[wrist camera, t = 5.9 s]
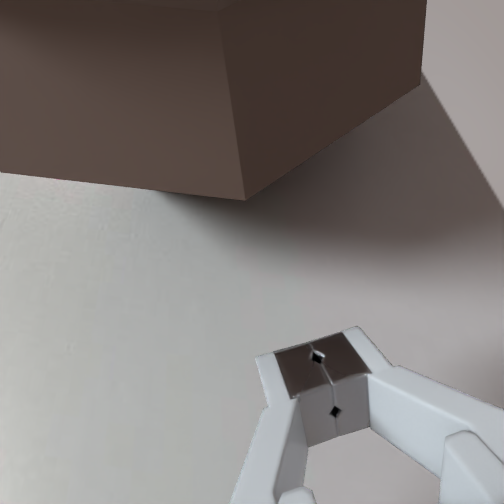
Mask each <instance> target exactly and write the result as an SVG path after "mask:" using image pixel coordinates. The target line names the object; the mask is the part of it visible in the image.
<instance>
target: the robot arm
mask: <svg viewBox="0 0 504 504" xmlns="http://www.w3.org/2000/svg"><path fill="white" fill-rule="evenodd" d="M256 363H257V367H258V371H259V374H260V378H261V382H262V386H263V390H264V394H265V397H266V401H267V405H268V407H266V408H263V411H262V414H261V417H260V420H259V422H258V425H257V428H256V431H255V434H254V436H253V439H252V442H251V445H250V448H249V450H248V453H247V456H246V459H245V462H244V464H243V467H242V470H241V473H240V476H239V478H238V481H237V484H236V487H235V489H234V492H233V495H232V498H231V501H230V503H229V504H317V503H316V500H315V498H314V495H313V492H312V490H310V489H308V488H306V487H304V486H303V483H304V476H305V469H306V462H307V456H308V447H311V446H314V445H317V444H319V443H322V442H325V441H327V440H330V439H333V438H335V437H338V436H341V435H345V434H348V433H351V432H355V431H358V430H361V429H365V428H368V427H371V429H372V430H373V431H375V432H376V433H377V434H379V435H380V436H382V437H383V438H384V439H386V440H387V441H388V442H390V443H391V444H393V445H394V446H395V447H397V448H398V449H399V450H401V451H402V452H404V453H405V454H406V455H408V456H409V457H411V458H412V459H413V460H415V461H416V462H417V463H419V464H420V465H422V466H423V467H424V468H426V469H427V470H429V471H430V472H431V473H433V474H434V475H435V476H437V477H438V478H440V479H441V483H440V493H439V503H438V504H504V409H502V408H500V407H497V406H495V405H492V404H490V403H488V402H485V401H483V400H481V399H478V398H476V397H473V396H471V395H469V394H466V393H464V392H462V391H459V390H457V389H454V388H452V387H450V386H447V385H445V384H442V383H440V382H438V381H435V380H433V379H431V378H428V377H426V376H423V375H421V374H419V373H416V372H414V371H412V370H409V369H407V368H404V367H402V366H400V365H398V366H394V367H393V366H392V364H391V363H390V362H389V361H388V360H387V359H386V357H385V356H384V355H383V354H382V353H381V351H380V350H379V349H378V348H377V347H376V346H375V344H374V343H373V342H372V341H371V340H370V339H369V337H368V336H367V335H366V334H365V333H364V332H363V330H362V329H361V328H360V327H358V326H355V327H352V328H349V329H346V330H343V331H340V332H337V333H334V334H331V335H328V336H324V337H321V338H318V339H315V340H312V341H308V342H306V343H302V344H298V345H295V346H291V347H288V348H284V349H280V350H277V351H273V352H271V353H267V354H264V355H260V356H256Z"/></svg>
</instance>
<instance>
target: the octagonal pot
mask: <svg viewBox="0 0 504 504" xmlns="http://www.w3.org/2000/svg"><path fill="white" fill-rule="evenodd" d="M426 4H427V0H0V171H1V172H2V173H11V174H20V175H28V176H37V177H46V178H54V179H63V180H71V181H80V182H89V183H97V184H106V185H115V186H123V187H132V188H140V189H149V190H158V191H166V192H175V193H184V194H192V195H201V196H209V197H218V198H227V199H235V200H244V201H246V200H247V199H249V198H250V197H252V196H253V195H255V194H256V193H258V192H259V191H261V190H262V189H264V188H265V187H267V186H268V185H270V184H271V183H273V182H274V181H276V180H277V179H279V178H280V177H282V176H283V175H285V174H286V173H288V172H289V171H291V170H292V169H294V168H295V167H297V166H298V165H300V164H301V163H303V162H304V161H306V160H307V159H309V158H310V157H312V156H313V155H315V154H316V153H318V152H319V151H321V150H322V149H324V148H325V147H327V146H328V145H330V144H331V143H333V142H334V141H336V140H337V139H339V138H340V137H342V136H343V135H345V134H346V133H348V132H349V131H351V130H352V129H354V128H355V127H357V126H358V125H360V124H361V123H363V122H364V121H366V120H367V119H369V118H370V117H372V116H373V115H375V114H376V113H378V112H380V111H381V110H383V109H384V108H386V107H387V106H389V105H390V104H392V103H393V102H395V101H396V100H398V99H399V98H401V97H402V96H404V95H405V94H407V93H408V92H410V91H411V90H413V89H414V88H416V87H417V86H419V85H420V79H421V66H422V54H423V41H424V28H425V16H426Z"/></svg>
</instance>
